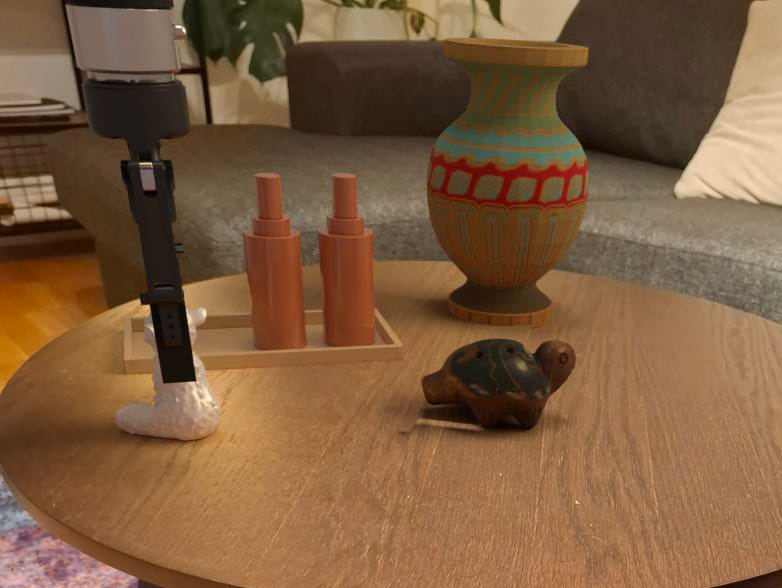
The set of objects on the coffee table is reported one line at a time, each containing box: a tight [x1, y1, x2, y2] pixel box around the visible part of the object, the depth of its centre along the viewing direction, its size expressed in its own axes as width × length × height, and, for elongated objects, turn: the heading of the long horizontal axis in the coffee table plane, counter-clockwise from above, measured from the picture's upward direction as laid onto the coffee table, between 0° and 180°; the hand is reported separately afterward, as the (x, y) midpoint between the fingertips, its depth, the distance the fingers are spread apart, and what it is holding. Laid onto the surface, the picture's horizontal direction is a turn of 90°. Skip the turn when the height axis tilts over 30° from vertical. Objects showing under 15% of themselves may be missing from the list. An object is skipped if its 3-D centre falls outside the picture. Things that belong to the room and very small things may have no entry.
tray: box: [122, 307, 405, 376], centre depth 103 cm, size 30×15×2 cm, turn 107°
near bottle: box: [242, 172, 307, 351], centre depth 98 cm, size 6×6×18 cm
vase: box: [426, 37, 590, 329], centre depth 110 cm, size 20×20×30 cm
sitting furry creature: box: [114, 306, 223, 441], centre depth 81 cm, size 10×9×12 cm
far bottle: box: [317, 172, 376, 347], centre depth 101 cm, size 6×6×18 cm
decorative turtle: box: [420, 338, 577, 430], centre depth 88 cm, size 10×15×8 cm, turn 103°
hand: (176, 354), depth 81 cm, fingers open, 13 cm apart
